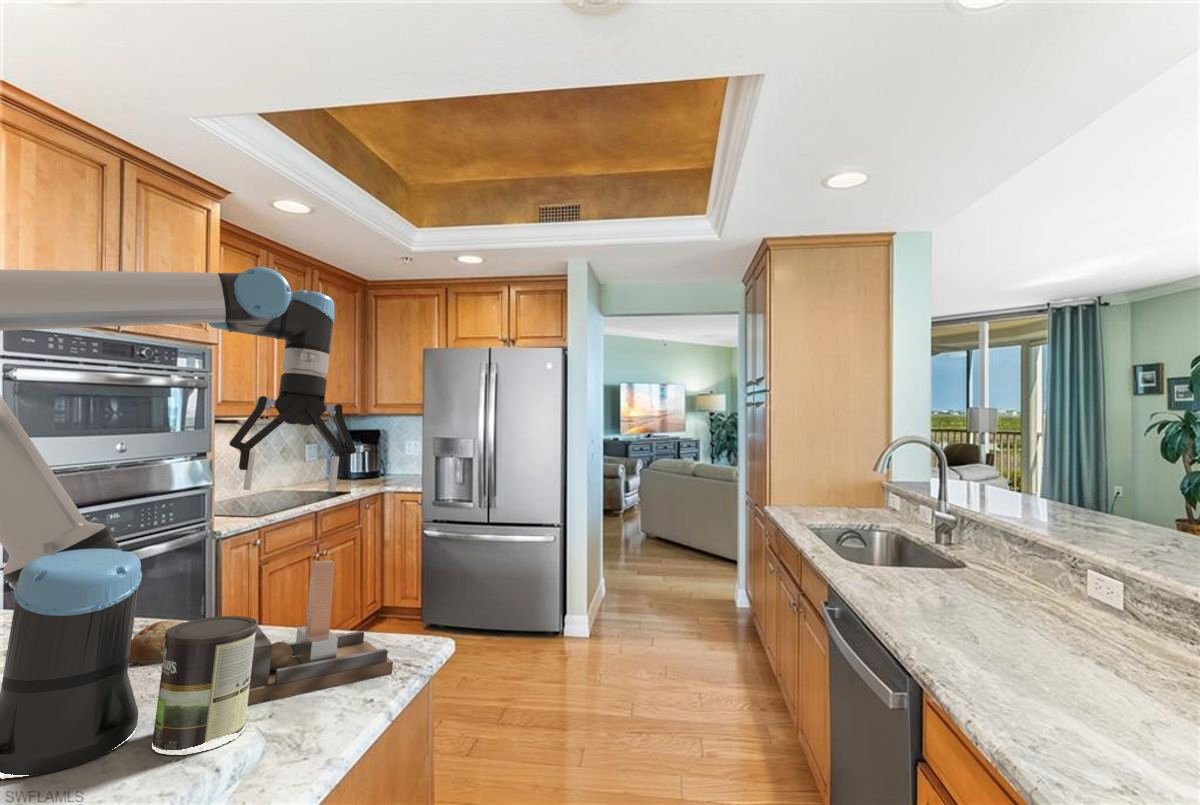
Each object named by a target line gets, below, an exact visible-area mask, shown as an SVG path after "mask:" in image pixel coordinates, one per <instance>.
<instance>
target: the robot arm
mask: <svg viewBox="0 0 1200 805" xmlns="http://www.w3.org/2000/svg"><path fill="white" fill-rule="evenodd" d="M185 324H186V325H187V324H189V325H190V324H208V326H210V327H212V328H214V329H219V330H223V331H227V332H229V333H233V332H234V333H238V334H245V335H253V336H258V337H264V338H272V339H276V340H282V341H283V340H284V350H283V356H282V357H283V358H282V365H281V370H282V372H284V373H282V374H281V376H280V381H279V390H278V396H277V398H276V399H274V398H269V397H267V396H265V395H262V396H259V397H258V398H257V400H256V403H255V404H256V405H255V408H254V409H253V410H252V412H251V414H249V416H248V417H247V419H246V420H245V421H244V423H243V424H242V425H241V426H240V428H239V429H238V430H237V432H236V433H235V434H234V435H233V437H232V438H231V440H230V441H229V443H228V445H229V447H232V448H235V449H236V450H239V453H240V455H239V462H238V469H239V470H240V471H245V474H244V479H243V480H244V482H243V490H244V491H251V485H252V478H253V471H254V463H255V457H256V456H255V454H256V452H255V451H251V450H252V449H253V448H254V447H255V446H256V445H257V444H259V443H260V442H261V441H263V439H265V438H266V437H268V436H269V435H270V433H272V432H274V430H275V429H276V428H278V427H279V426H281V425H282V424H283V423H286V424H288V425H301V426H311V425H312V426H313V427H314V428H315V429H316V430H317V431H318V433H319V434H320V435H321V436H322V437H323V439H324V440H325V441H326V443H327V444H328V446H330V449H331V450H332V451H333V452H334V453H335V455H336V456H333V455H332V456H331V459H330V467H329V478H328V484H327V485H328V486H327V487H328V488H327V491H329V492H336V491H337V490H336V489H337V482H338V480H337V479H338V474H343V472H344V468H345V462H346V461H345V459H346V457H347V456H348V455H351V454H355V453H356V452H357V448H356V446H355V443H354V441H353V437H352V436H351V433H350V431H349V428H348V426H347V424H346V420H345V419H344V416H343V405H342V404H340V403H339V404H327V403H326V401H325V399H326V389H327V382H328V380H327V379H326V378H325V377H327V375H328V372H329V363H330V351H331V343H332V336H333V330H334V324H335V302H334V300H333V299H332V298H331V297H330V296H328V295H326V294H325V293H322V292H318V291H317V292H316V291H313V290H312V291H310V290H306V289H305V290H304V289H300V290H295V291H293V292H292V289H291V286H290V284H289V282H288V281H287V280H286V278H285V277H284V276H283V275H282V274H281V273H279V272H278V271H277V270H274V269H271V268H269V267H265V266H255V267H251V268H248V269H245V270H244V271H241V272H192V271H191V272H184V271H183V272H181V271H180V272H178V271H177V272H176V271H174V272H173V271H126V270H125V271H123V270H122V271H120V270H119V271H117V270H115V271H114V270H113V271H112V270H111V271H110V270H108V271H107V270H60V269H59V270H56V269H55V270H53V269H52V270H51V269H50V270H49V269H46V270H45V269H0V332H1V331H2V332H3V331H4V332H5V331H30V330H31V331H32V330H55V329H80V328H85V329H86V328H105V327H106V328H107V327H108V328H109V327H134V326H156V325H157V326H158V325H160V326H161V325H185ZM272 406H274V408H275V409H276V411H277V413H278V415H277V416H276V417H274V418H273V419H272V420H271V421H270V422H269V423H268V424H267V425H265V426H264V427H263V428H262V429H261V430H259V431H258V432H257V433H255V435H253V436H251V437H250V439H249V440H247V441H246V442H242V441H243V439H244V438H245V437H246V436H247V434H248V433H249V431H250V430H251V429H252V427H253V426H254V425H255V424H256V423H257V421H258V420H259V419H260V417H261V415H262V414H263V413H264V411H267V410H269V409H270V408H271V407H272ZM325 412H328V415H329V416H331V417H332V419H333V422H334V424H335V427H336V429H337V432H338V433H339V436H340V439H341V441H342V444H343V446H344V447H343V446H342V445H341V443H340V442H339V441H338V439H337V438H336V437H335V435H334V434H333V432H332V431H331V430H330V429H329V427H328V426H327V425H326V423H325V421H324V420H323V419H322V417H321V416H323V415H324V414H325ZM0 545H1V546H2V547H3V549H4V550H5V551H6V552H7V554H8V560H7V562H6V563H5V565H4V568H3V570H2V572H1V573H2V574H3V575H4V577H5V578H6V579H7V581H8V582H9V584H10V585H11V586H12V589H13V596H14V606H13V613H12V617H11V618H12V619H11V626H10V632H9V636H8V642H7V648H6V649H7V650H6V655H5V662H4V666H3V674H2V681H1V687H0V772H1V773H4V774H11V775H12V774H13V775H29V777H31V776H30V775H35V776H38V775H39V776H40V775H44V774H48V773H54V772H56V771H57V772H58V771H60V770H64V769H68V768H72V767H75V766H78V765H81V764H83V763H86V762H89V761H92V760H94V759H97V758H100V757H102V756H104V755H106V754H108V753H110V752H112V751H113V750H112V749H114V748H115V747H117V746H118V745H119V744H121V743H122V742H123V741H125V740H126V739H127V738H128V737H129V736H130V735H131V734H132V733H133V731H134V730H135V728H136V726H137V727H138V722H139V721H138V720H139V709H138V705H137V702H136V699H135V695H134V691H133V688H132V687H133V686H132V684H131V681H130V676H129V673H128V672H129V671H128V669H129V662H130V661H129V655H130V648H131V641H132V639H133V631H134V625H135V617H136V609H137V601H138V593H139V586H140V585H141V582H142V578H143V573H142V570H141V569H142V564H141V563H142V562H141V560H140V558H139V557H138V555H136V554H134V553H133V552H130V551H126V550H125V551H123V550H122V548H121V547H120V545H119V544H118V542H117V541H116V539H115V538H114V536H113V535H112V533H111V532H110V531H109V529H108V528H107V525H105V524H103V523H98V522H93V521H88V520H86V518H85V517H84V516H83V514H82V512H80V510H79V508H78V507H77V506H76V504H75V503H74V501H73V500H72V498H71V497H70V495H69V494H68V492H67V491H66V490H65V488H64V487H63V485H62V484H61V482H60V481H59V479H58V478H57V475H55V473H54V472H53V470H52V469H51V467H50V466H49V465H48V464H47V461H46V460H45V458H44V456H42V454H41V453H40V451H39V450H38V449H37V447H36V446H35V444H34V442H33V441H32V439H31V438H30V437H29V435H28V433H27V432H26V431H25V429H24V428H23V426H22V425H21V423H20V422H19V420H18V419H17V417H16V416H15V415H14V413H13V411H12V410H11V408H10V407H9V405H8V404H7V403H6V401H5V400H4V398H3V397H2V395H1V394H0ZM111 750H112V751H111ZM114 750H115V749H114ZM109 751H110V752H109Z"/></svg>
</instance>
